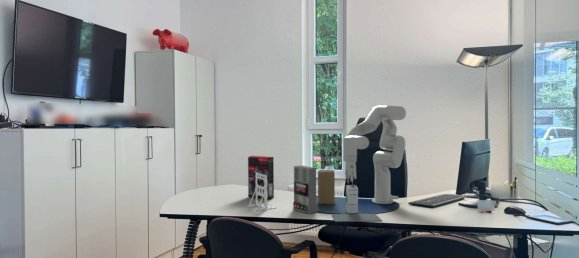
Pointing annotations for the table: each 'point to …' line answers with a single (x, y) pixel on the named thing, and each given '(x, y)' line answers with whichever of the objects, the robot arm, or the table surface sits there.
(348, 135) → the robot arm
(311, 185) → the grey labelled carton
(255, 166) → the graphics card box
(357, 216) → the mat
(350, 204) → the syrup box
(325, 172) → the block
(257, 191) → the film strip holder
